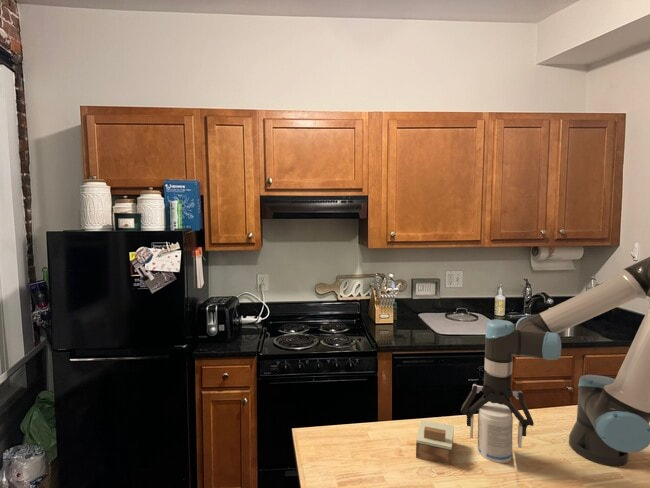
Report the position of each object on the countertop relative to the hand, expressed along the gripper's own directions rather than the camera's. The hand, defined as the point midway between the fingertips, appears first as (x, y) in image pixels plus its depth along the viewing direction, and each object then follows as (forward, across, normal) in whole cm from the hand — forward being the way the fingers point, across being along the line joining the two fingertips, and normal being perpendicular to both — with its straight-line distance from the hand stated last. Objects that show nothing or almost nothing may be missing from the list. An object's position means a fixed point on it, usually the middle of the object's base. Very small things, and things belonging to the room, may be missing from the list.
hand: (495, 440), depth 119 cm
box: (+5, +17, +5) cm, 18 cm away
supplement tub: (+5, 0, 0) cm, 5 cm away
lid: (-1, +17, +5) cm, 18 cm away
